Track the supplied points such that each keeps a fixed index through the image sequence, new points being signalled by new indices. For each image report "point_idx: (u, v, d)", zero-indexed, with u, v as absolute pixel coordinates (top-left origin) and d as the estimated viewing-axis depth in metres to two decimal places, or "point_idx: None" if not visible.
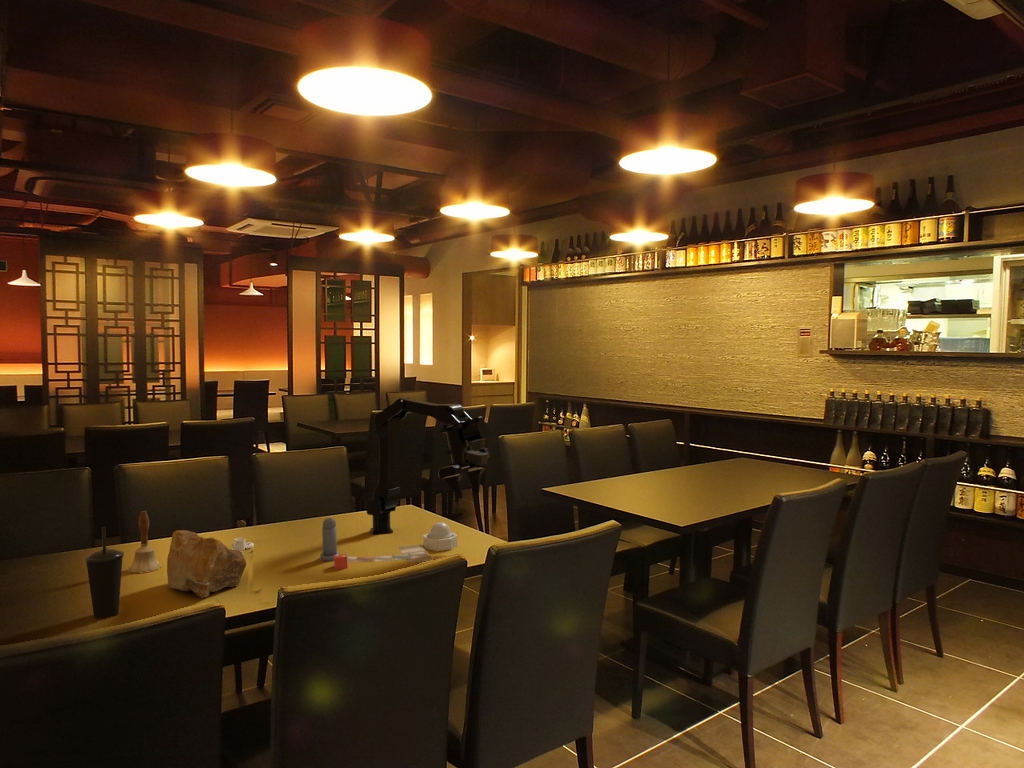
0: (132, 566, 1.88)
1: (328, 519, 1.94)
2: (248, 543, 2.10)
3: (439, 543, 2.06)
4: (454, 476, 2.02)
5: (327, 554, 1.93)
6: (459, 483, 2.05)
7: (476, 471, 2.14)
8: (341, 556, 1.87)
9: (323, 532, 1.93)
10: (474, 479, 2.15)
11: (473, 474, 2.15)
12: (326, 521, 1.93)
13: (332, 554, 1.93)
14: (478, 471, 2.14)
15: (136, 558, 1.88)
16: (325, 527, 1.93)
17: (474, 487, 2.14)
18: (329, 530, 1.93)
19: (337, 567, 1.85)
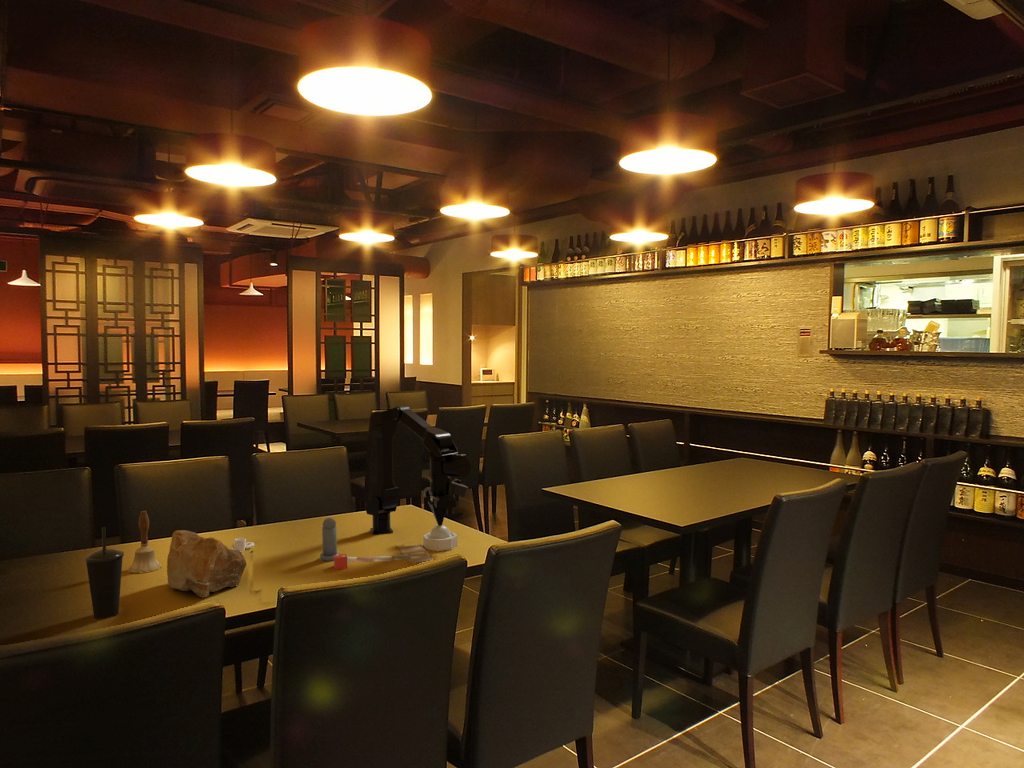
0: (132, 566, 1.88)
1: (328, 519, 1.94)
2: (248, 543, 2.10)
3: (439, 543, 2.06)
4: None
5: (327, 554, 1.93)
6: None
7: None
8: (341, 556, 1.87)
9: (323, 532, 1.93)
10: None
11: None
12: (326, 521, 1.93)
13: (332, 554, 1.93)
14: None
15: (136, 558, 1.88)
16: (325, 527, 1.93)
17: None
18: (329, 530, 1.93)
19: (337, 567, 1.85)
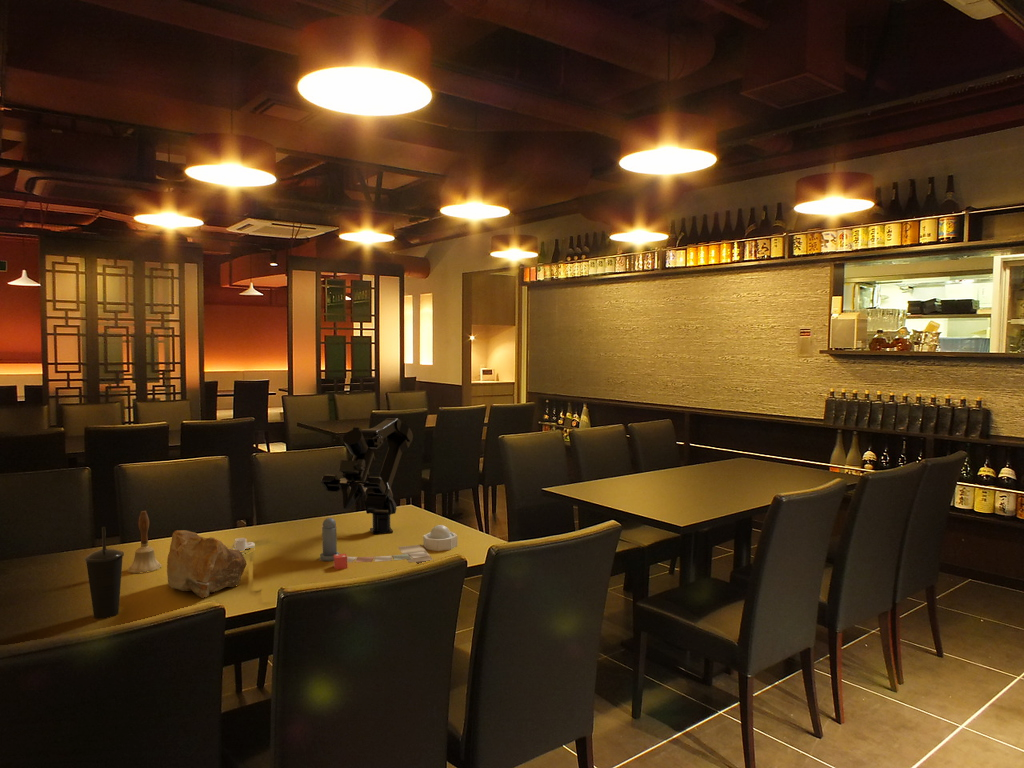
0: (132, 566, 1.88)
1: (328, 519, 1.94)
2: (249, 543, 2.10)
3: (439, 543, 2.06)
4: None
5: (327, 554, 1.93)
6: (345, 493, 2.04)
7: None
8: (341, 556, 1.87)
9: (323, 532, 1.93)
10: None
11: None
12: (326, 521, 1.93)
13: (332, 554, 1.93)
14: None
15: (136, 558, 1.88)
16: (325, 527, 1.93)
17: None
18: (329, 530, 1.93)
19: (337, 567, 1.85)
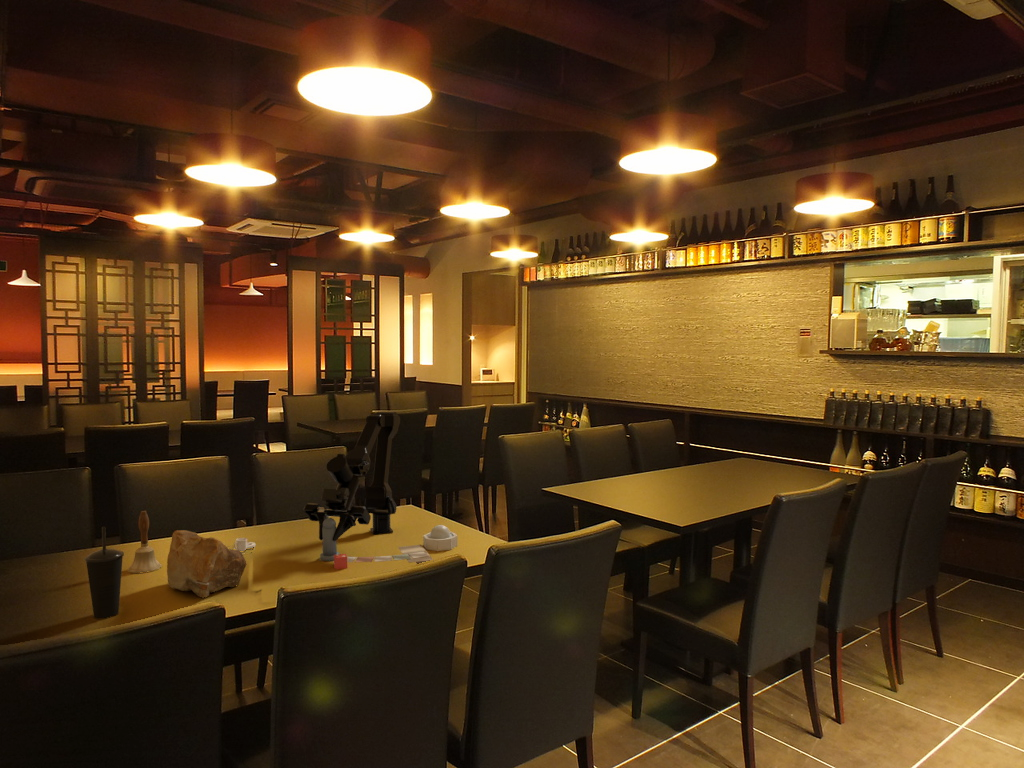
0: (132, 566, 1.88)
1: (328, 519, 1.94)
2: (250, 543, 2.10)
3: (439, 543, 2.06)
4: None
5: (327, 554, 1.93)
6: (321, 522, 1.96)
7: None
8: (341, 556, 1.87)
9: (323, 532, 1.93)
10: None
11: None
12: (326, 521, 1.93)
13: (332, 554, 1.93)
14: None
15: (136, 558, 1.88)
16: (325, 527, 1.93)
17: None
18: (329, 530, 1.93)
19: (337, 567, 1.85)
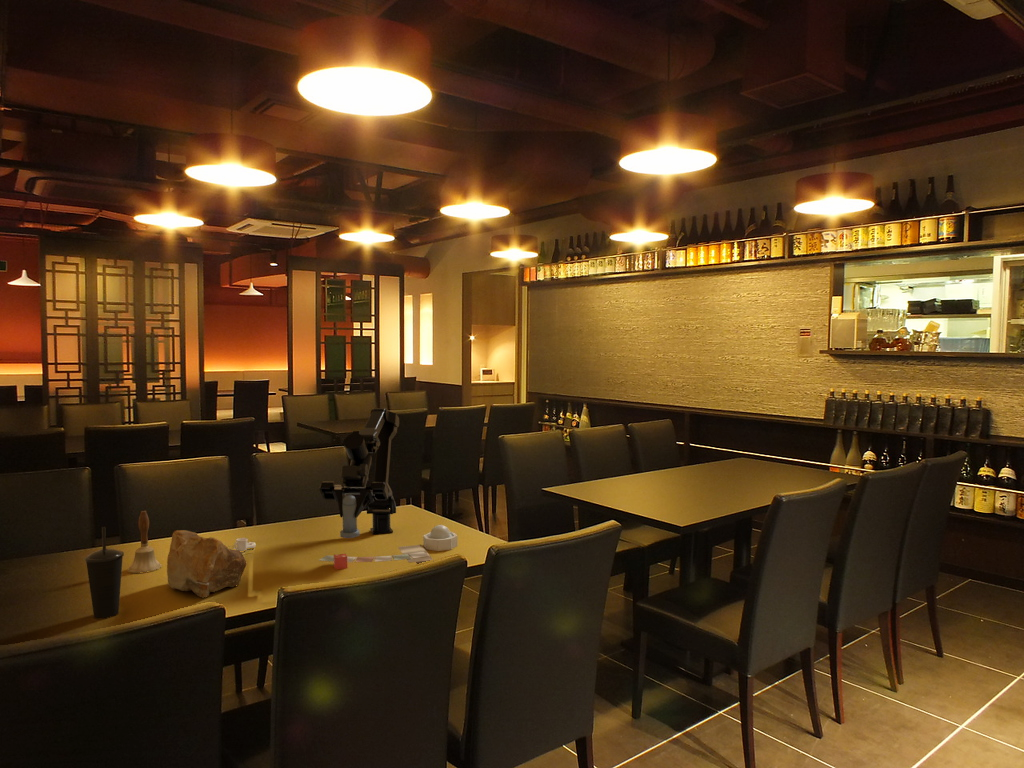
0: (132, 566, 1.88)
1: (349, 496, 1.92)
2: (250, 543, 2.10)
3: (439, 543, 2.06)
4: None
5: (349, 531, 1.92)
6: (340, 500, 1.94)
7: None
8: (341, 556, 1.87)
9: (344, 509, 1.92)
10: None
11: None
12: (347, 498, 1.92)
13: (353, 531, 1.92)
14: None
15: (136, 558, 1.88)
16: (346, 504, 1.91)
17: None
18: (351, 507, 1.91)
19: (337, 567, 1.85)
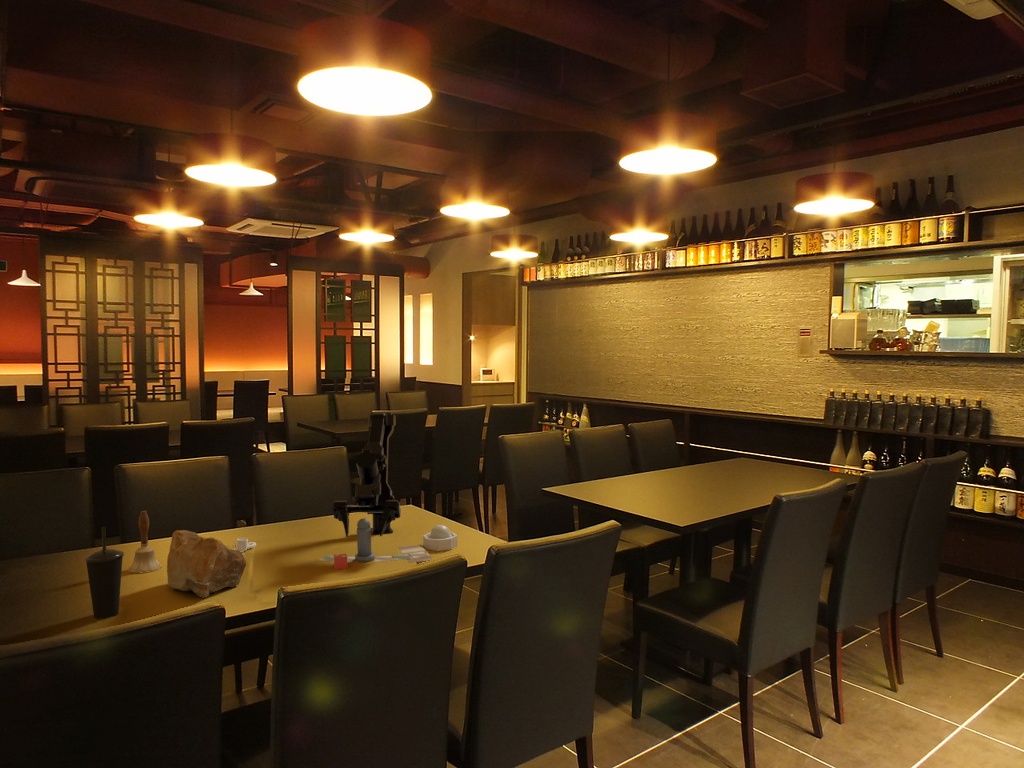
0: (132, 566, 1.88)
1: (363, 519, 1.93)
2: (250, 543, 2.10)
3: (439, 543, 2.06)
4: None
5: (364, 555, 1.92)
6: (345, 519, 1.94)
7: None
8: (341, 556, 1.87)
9: (359, 533, 1.92)
10: None
11: None
12: (362, 522, 1.92)
13: (369, 554, 1.93)
14: None
15: (136, 558, 1.88)
16: (361, 528, 1.92)
17: None
18: (366, 530, 1.92)
19: (337, 567, 1.85)
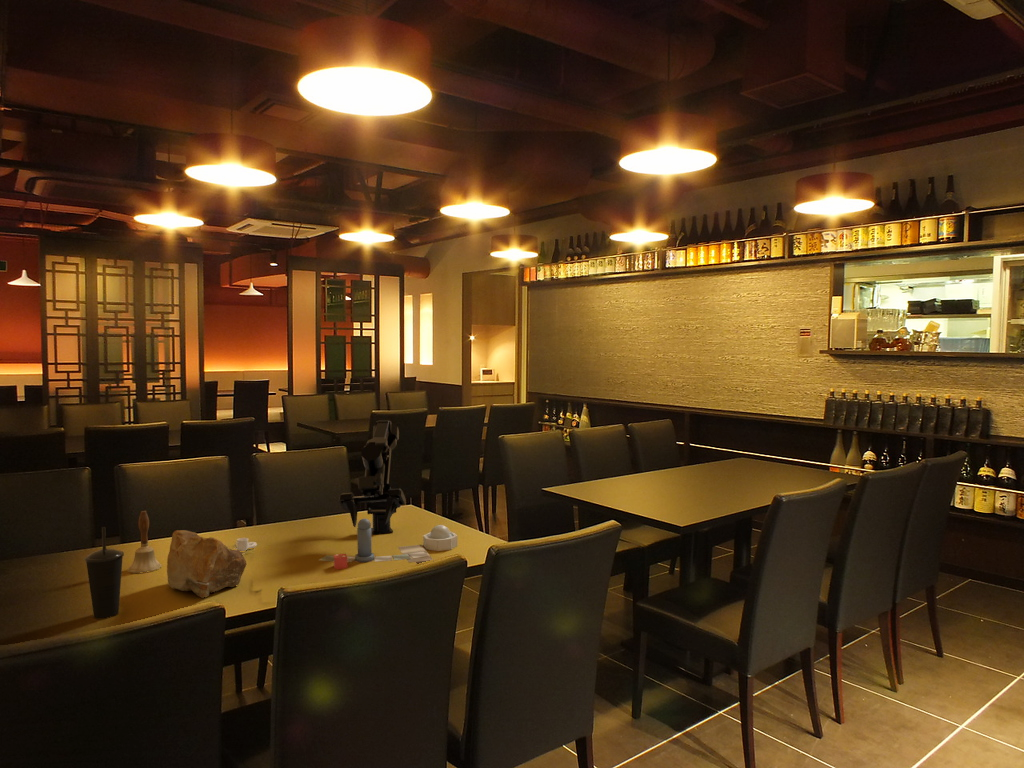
0: (132, 566, 1.88)
1: (364, 520, 1.93)
2: (251, 543, 2.10)
3: (439, 543, 2.06)
4: None
5: (364, 555, 1.92)
6: (351, 510, 2.04)
7: None
8: (341, 556, 1.87)
9: (360, 533, 1.92)
10: None
11: None
12: (363, 522, 1.92)
13: (369, 554, 1.93)
14: None
15: (136, 558, 1.88)
16: (362, 528, 1.92)
17: None
18: (366, 531, 1.92)
19: (337, 567, 1.85)
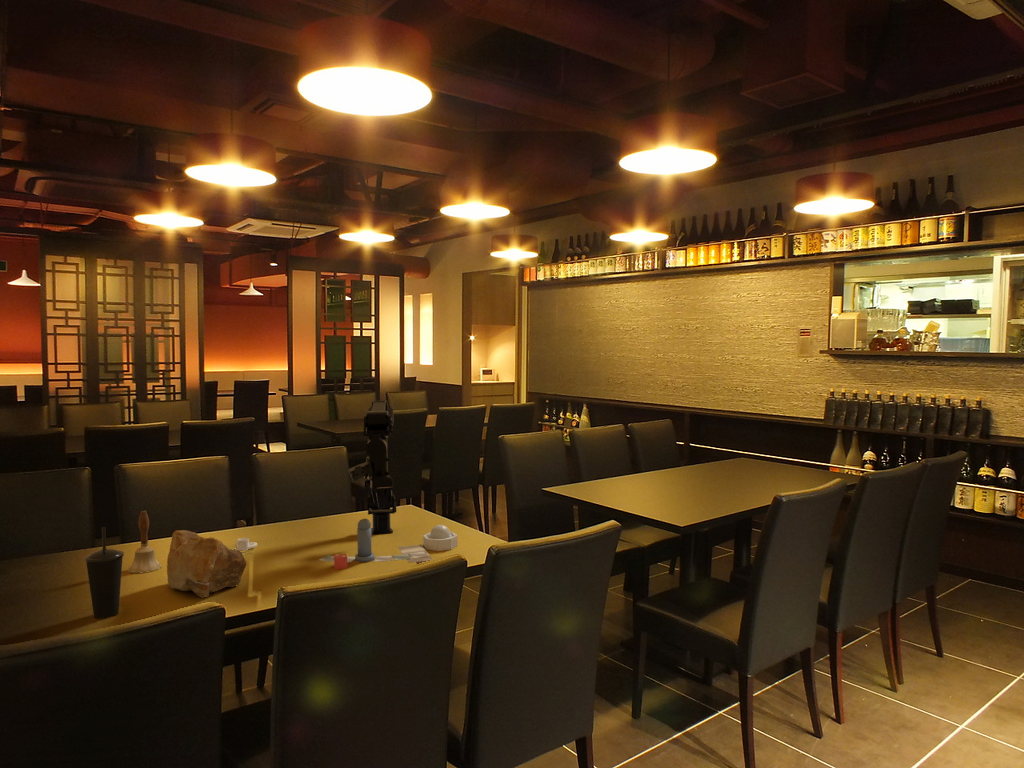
0: (132, 566, 1.88)
1: (364, 520, 1.93)
2: (251, 543, 2.10)
3: (439, 543, 2.06)
4: None
5: (364, 555, 1.92)
6: (371, 488, 2.11)
7: None
8: (341, 556, 1.87)
9: (360, 533, 1.92)
10: None
11: None
12: (363, 522, 1.92)
13: (369, 554, 1.93)
14: None
15: (136, 558, 1.88)
16: (362, 528, 1.92)
17: None
18: (366, 531, 1.92)
19: (337, 567, 1.85)
